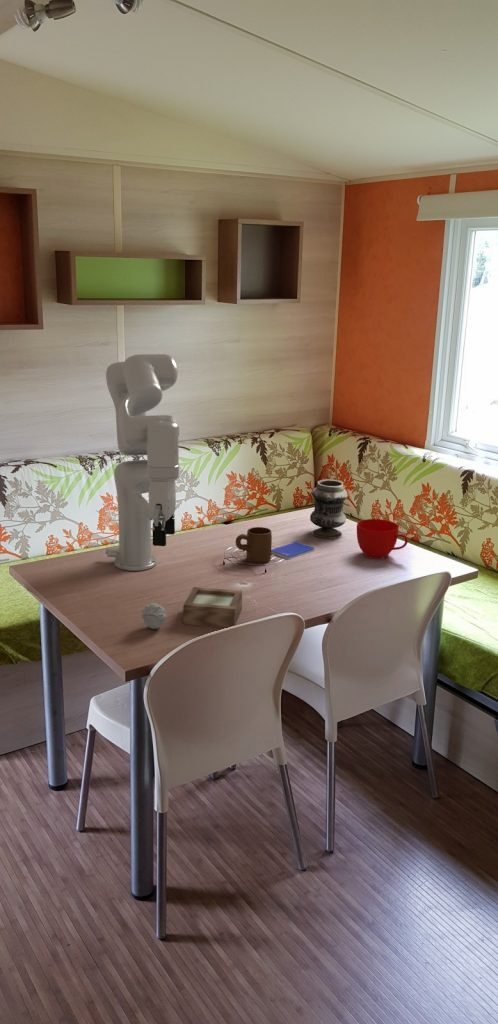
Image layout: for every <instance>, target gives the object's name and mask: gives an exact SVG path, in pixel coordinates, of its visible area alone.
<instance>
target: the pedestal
mask: <svg viewBox="0 0 498 1024" xmlns="http://www.w3.org/2000/svg"><path fill="white" fill-rule="evenodd" d="M182 606H183V607H182V608H183V614H182V615H183V619H182V620H183V625H189V626H190V625H193V626H203V627H204V626H205V627H214V628H215V627H217V628H227V627H231V626H234V625H235V626H237V622H238V620H239V618H240V615H241V612H242V610H243V590H235V589H225V588H224V589H223V588H222V589H221V588H211V587H210V588H209V587H196V586H194V587H192V589H191V591H190V593H189V595H188V596H187V598H186V599H185V601H184V603H183V605H182Z"/></svg>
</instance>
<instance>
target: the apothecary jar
mask: <svg viewBox="0 0 498 1024" xmlns="http://www.w3.org/2000/svg"><path fill="white" fill-rule="evenodd" d="M311 496H312V498H313V499H314V500H315V501H314V510H313V511H312V512H311V513H310V515H309V516H310V517H309V518H310V519H309V520H310V521H311V523H312V524H314V525H315V526H317V527H318V528H315V529H314V530H312V534H313V536H315V537H316V538H321V539H322V538H323V539H337V538H339V537H342V535H343V533H342V532H341V530H338V529H337V528H340V527H342V526H343V525H345V523H346V521H347V516H346V514H345V513H344V502H345V500H347V499H348V491H347V490H346V489H345V488H344V483H343V482H342V481H340V480H337V479H336V480H335V479H320V480H318V481H317V484H316V487H315V488H313V489H312V491H311Z"/></svg>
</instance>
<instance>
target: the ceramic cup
mask: <svg viewBox="0 0 498 1024" xmlns="http://www.w3.org/2000/svg"><path fill="white" fill-rule="evenodd" d="M399 529H400V527H399V524H397V523H395V521H392V520H391V521H390V520H388V519H387V520H386V519H382V518H369V519H362V520H359V521H358V522H357V523H356V538H357V544H358V546H359V549H360V550H361V551H362V552H363V554H364V556H366V557H367V558H369V559H373V560H380V559H381V560H382V559H385V558H387V556H389V554H391V552H393V551H397V550H402V549H403V548H406V546H407V544H408V542H409V538H408V536H407V535H406V534H404V533H399V532H400V531H399ZM399 537H402V538H403V539H404V543H403V544H402V545H400V546H396V544H397V541H398V538H399Z"/></svg>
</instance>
